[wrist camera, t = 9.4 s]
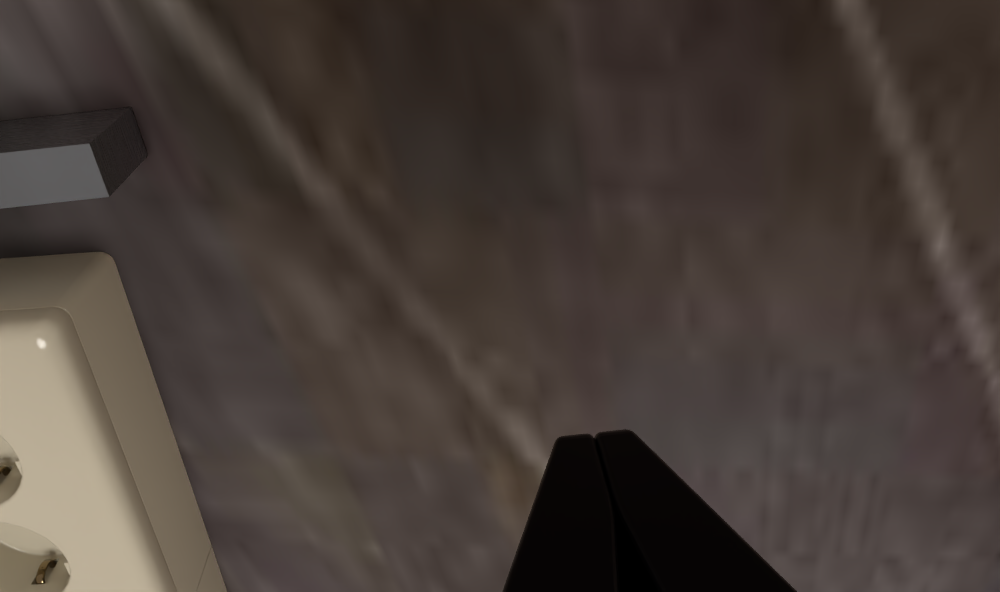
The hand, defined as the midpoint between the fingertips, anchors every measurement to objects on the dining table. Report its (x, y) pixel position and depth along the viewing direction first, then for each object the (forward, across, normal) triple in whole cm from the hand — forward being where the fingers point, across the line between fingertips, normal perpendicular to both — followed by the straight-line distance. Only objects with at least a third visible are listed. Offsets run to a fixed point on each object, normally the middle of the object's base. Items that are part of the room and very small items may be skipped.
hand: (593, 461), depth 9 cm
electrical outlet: (+13, +15, +11) cm, 22 cm away
